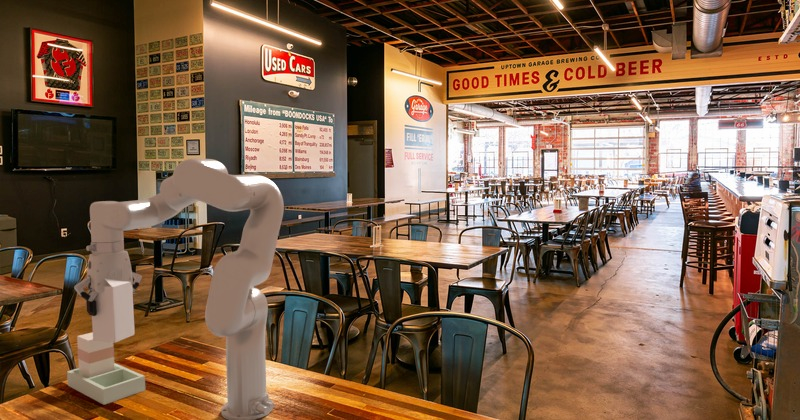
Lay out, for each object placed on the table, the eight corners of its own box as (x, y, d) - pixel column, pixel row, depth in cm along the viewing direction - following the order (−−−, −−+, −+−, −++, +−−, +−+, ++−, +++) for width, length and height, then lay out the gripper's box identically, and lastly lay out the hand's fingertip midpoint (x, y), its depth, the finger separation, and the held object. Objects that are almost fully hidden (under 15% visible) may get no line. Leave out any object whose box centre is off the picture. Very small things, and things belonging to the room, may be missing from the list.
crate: (145, 392, 147) (144, 376, 147) (104, 407, 138) (103, 389, 138) (108, 375, 159) (107, 359, 159) (67, 388, 150) (67, 371, 150)
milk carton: (135, 335, 147) (131, 266, 145) (115, 343, 140) (111, 271, 138) (113, 333, 149) (109, 265, 147) (92, 341, 142) (88, 270, 140)
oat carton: (115, 382, 152) (113, 334, 151) (90, 390, 147) (88, 340, 146) (104, 376, 156) (101, 330, 155) (79, 384, 151) (76, 336, 150)
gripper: (79, 253, 133) (83, 321, 135) (147, 244, 147) (149, 306, 149) (66, 250, 138) (69, 316, 139) (133, 242, 152) (135, 302, 153)
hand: (111, 311), depth 144 cm, fingers closed on milk carton, 9 cm apart
